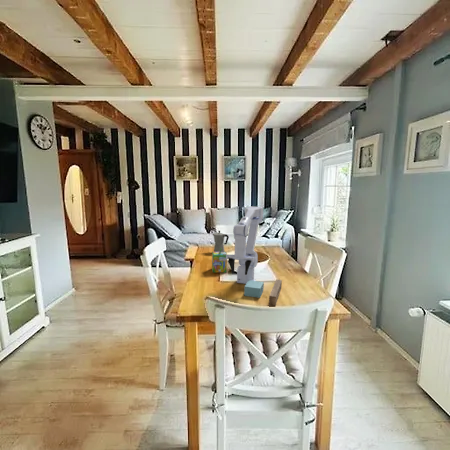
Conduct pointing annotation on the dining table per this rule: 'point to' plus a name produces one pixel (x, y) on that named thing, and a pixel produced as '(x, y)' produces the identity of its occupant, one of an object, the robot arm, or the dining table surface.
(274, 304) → the board
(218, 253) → the chalk box
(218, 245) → the coffeepot
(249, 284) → the block
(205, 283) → the dining table surface
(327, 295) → the dining table surface
